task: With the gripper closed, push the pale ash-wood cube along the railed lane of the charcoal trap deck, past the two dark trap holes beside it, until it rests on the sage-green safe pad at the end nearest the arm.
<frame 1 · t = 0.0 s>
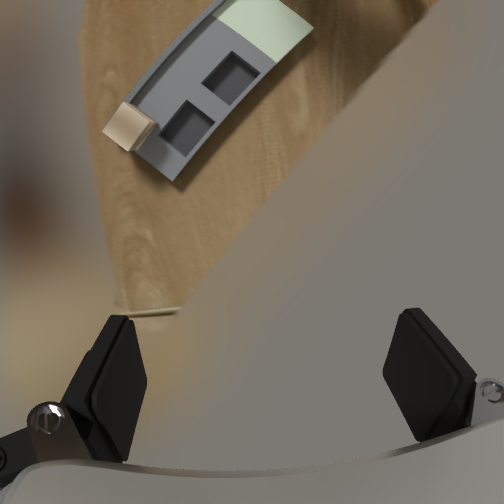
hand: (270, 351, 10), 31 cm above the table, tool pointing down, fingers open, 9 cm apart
ash cube: (136, 126, 34), point 2 cm above the table, touching trap deck
trap deck: (208, 73, 34), on the table
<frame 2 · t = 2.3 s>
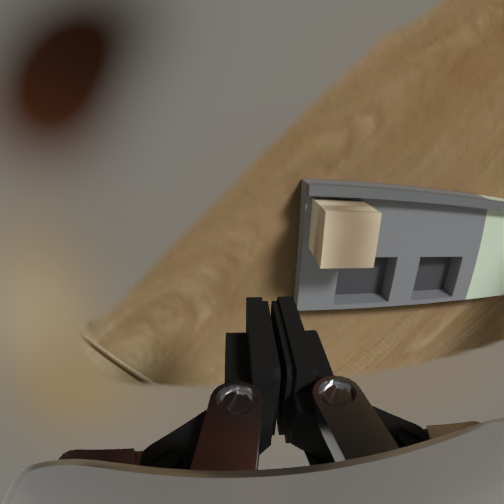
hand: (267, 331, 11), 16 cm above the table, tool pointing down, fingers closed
ash cube: (335, 223, 24), point 2 cm above the table, touching trap deck
trap deck: (425, 244, 27), on the table
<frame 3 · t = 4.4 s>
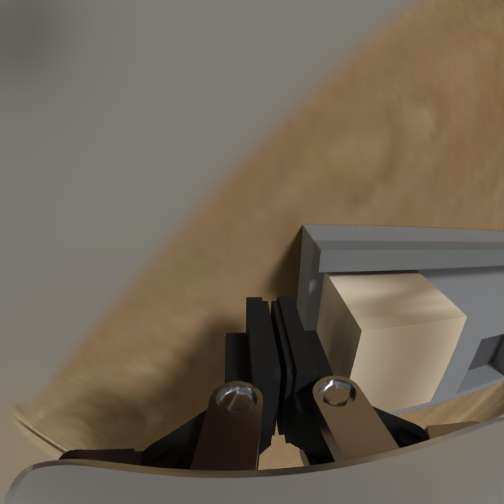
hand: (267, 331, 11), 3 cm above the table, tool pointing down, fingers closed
ash cube: (363, 311, 13), point 2 cm above the table, touching gripper, trap deck
trap deck: (484, 312, 16), on the table
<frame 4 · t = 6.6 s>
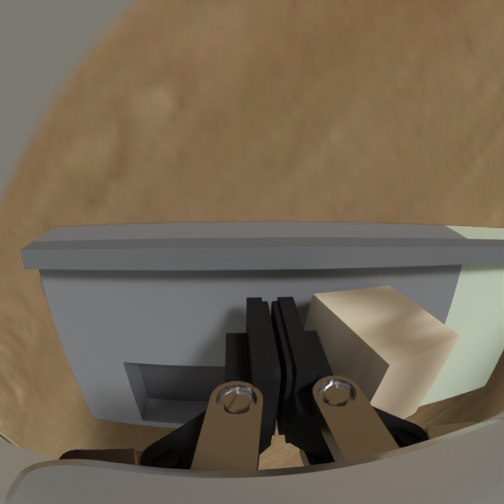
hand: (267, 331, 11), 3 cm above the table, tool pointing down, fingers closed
ash cube: (341, 332, 12), point 3 cm above the table, tilted 20°, touching gripper, trap deck
trap deck: (324, 328, 15), on the table
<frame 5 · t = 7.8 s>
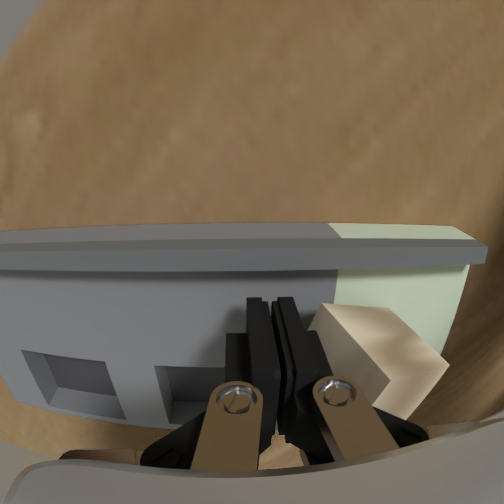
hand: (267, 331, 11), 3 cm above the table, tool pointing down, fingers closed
ash cube: (336, 345, 12), point 3 cm above the table, tilted 19°, touching gripper
trap deck: (194, 332, 15), on the table
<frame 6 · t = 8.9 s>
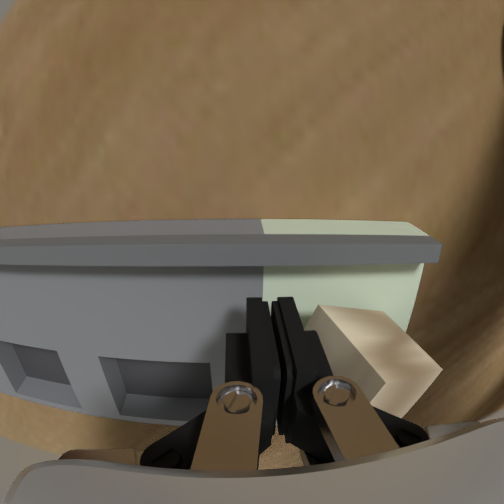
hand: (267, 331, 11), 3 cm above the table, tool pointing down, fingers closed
ash cube: (331, 346, 13), point 3 cm above the table, tilted 19°, touching gripper, trap deck
trap deck: (138, 326, 15), on the table
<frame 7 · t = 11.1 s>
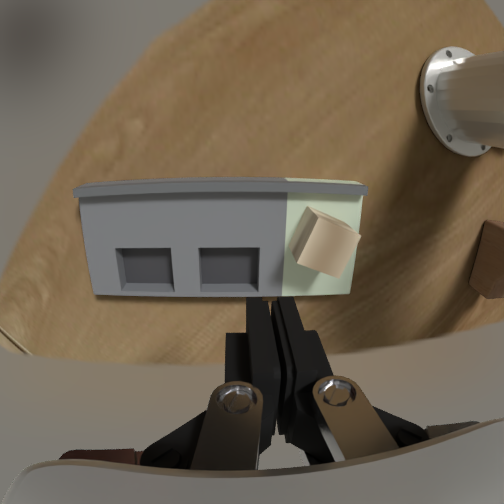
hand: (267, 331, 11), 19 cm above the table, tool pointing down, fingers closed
ash cube: (317, 233, 28), point 2 cm above the table, touching trap deck
wooden block: (485, 252, 33), on the table
trap deck: (218, 235, 30), on the table
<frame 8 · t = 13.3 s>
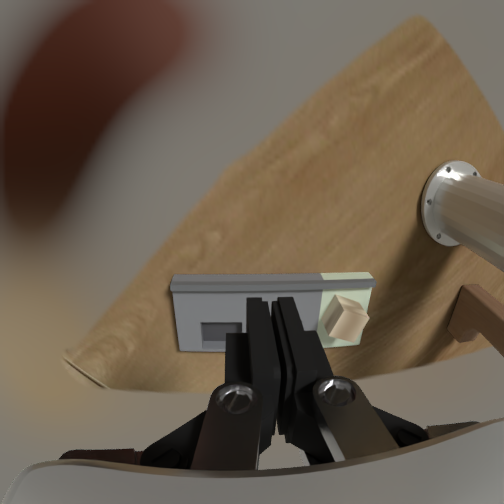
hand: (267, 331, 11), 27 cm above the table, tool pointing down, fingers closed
ash cube: (340, 310, 41), point 2 cm above the table, touching trap deck
wooden block: (461, 306, 45), on the table
trap deck: (273, 310, 43), on the table
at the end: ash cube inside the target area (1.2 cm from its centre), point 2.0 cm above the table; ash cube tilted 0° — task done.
